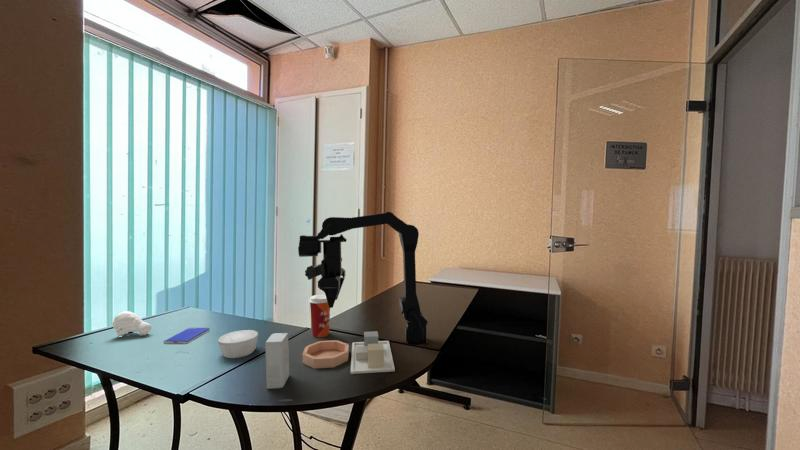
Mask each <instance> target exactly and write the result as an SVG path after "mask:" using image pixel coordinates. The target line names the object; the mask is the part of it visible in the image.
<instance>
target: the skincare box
mask: <svg viewBox="0 0 800 450" xmlns="http://www.w3.org/2000/svg"><path fill="white" fill-rule="evenodd" d="M264 345H265V370H266V371H265V373H266V374H265V376H266V377H265V378H266V389H268V390H269V389H271V390H272V389H282V388H284V387H285V384H286V382H287V380H288V379H289V377H290V362H289V361H290V360H289V355H290V354H289V333H288V332H282V333H281V332H280V333H279V332H278V333H276V332H275V333H271V334H270V336H269V337H268V339H266V341H265V343H264Z"/></svg>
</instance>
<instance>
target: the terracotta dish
mask: <svg viewBox="0 0 800 450" xmlns="http://www.w3.org/2000/svg"><path fill="white" fill-rule="evenodd" d="M349 349H350V346H349V343H345V342H344V341H341V340H337V339H334V340H319V341H316V342H314V343H311V344H309V345H306V346H305V347H304V350H303V352H302V364H304V365H306V366H308V367H310V368H312V369H327V368H335V367H338V366H339V365H342V364H344V363H346V362H348V361H349V351H350V350H349Z"/></svg>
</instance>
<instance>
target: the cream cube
mask: <svg viewBox="0 0 800 450" xmlns="http://www.w3.org/2000/svg"><path fill="white" fill-rule="evenodd" d="M376 367H384V348H383V343H379V344H368V368H376Z"/></svg>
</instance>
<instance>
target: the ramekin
mask: <svg viewBox="0 0 800 450" xmlns="http://www.w3.org/2000/svg"><path fill="white" fill-rule="evenodd" d="M258 338H259V332H258V331H256V330H254V329H253V330H252V329H243V330H235V331H231V332H228V333H225V334H223V335H222V336H220V337H219V338H218V341H217V342H218V345H219V348H220V352H221V355H222V356H223V357H224V358H228V359H238V358H243V357H246V356H249V355H251V354H252V353H254V352H255V350H256V348H257V342H258Z"/></svg>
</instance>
